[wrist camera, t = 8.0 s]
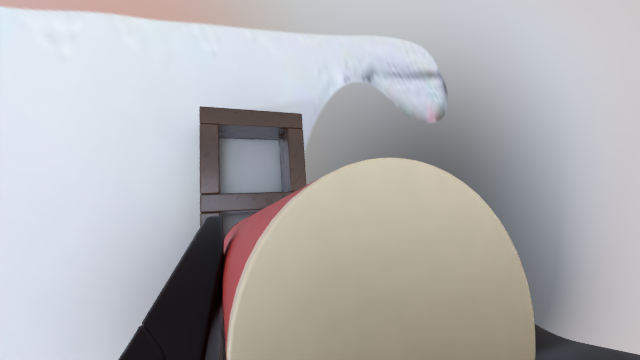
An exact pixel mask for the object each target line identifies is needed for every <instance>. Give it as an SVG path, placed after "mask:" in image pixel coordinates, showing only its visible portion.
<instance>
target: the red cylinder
mask: <svg viewBox="0 0 640 360" xmlns="http://www.w3.org/2000/svg"><path fill="white" fill-rule="evenodd" d="M222 292H223V311H224V330H225V348H226V360H535V324H534V314H533V307H532V301H531V296H530V291H529V287H528V283H527V280H526V276H525V272H524V270H523V267H522V264H521V261H520V259H519V256H518V253H517V251H516V249H515V247H514V245H513V243H512V241H511V239H510V237H509V235H508V233H507V232H506V230H505V229H504V227H503V225H502V223H501V222H500V220H499V219H498V218H497V216H496V215H495V214H494V212H493V211H492V210H491V208H490V207H489V206H488V205H487V204H486V203H485V202H484V201H483V199H481V197H480V196H479V195H478V194H477V193H475V192H474V191H473V190H472V189H471V188H469V187H468V186H467V185H466V184H465V183H464V182H462V181H460V180H459V179H457V178H456V177H454V176H453V175H451V174H449V173H448V172H445V171H443V170H441V169H439V168H437V167H435V166H432V165H429V164H426V163H423V162H420V161H415V160H409V159H403V158H377V159H369V160H363V161H360V162H357V163H353V164H349V165H346V166H344V167H342V168H340V169H337V170H335V171H333V172H331V173H329V174H327V175H325V176H323V177H321V178H320V179H317V180H316V181H314V182H312V183H310V184H308V185H306V186H304V187H303V188H301V189H299V190H297V191H295V192H293V193H292V194H290V195H288V196H286V197H284V198H282V199H280V200H279V201H277V202H275V203H273V204H271V205H269V206H268V207H266V208H264V209H262V210H260V211H258V212H257V213H255V214H253V215H251V216H249V217H247V218H246V219H244V220H242V221H240V222H239V223H237V224H236V225H235V226H233V228H232V229H231V230H230V231H229V232H228V234H227V235H226V237H225V239H224V266H223V275H222Z"/></svg>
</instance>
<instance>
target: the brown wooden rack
mask: <svg viewBox="0 0 640 360" xmlns="http://www.w3.org/2000/svg"><path fill="white" fill-rule="evenodd" d="M302 128H303V127H302V114H297V113H283V112H269V111H255V110H241V109H228V108H214V107H200V194H201V195H200V212H201V214H200V227H201V225H202V224H203V222H204V220H205V219H206V218H207V217H209V216H220V215H221V214H240V213H257V212H258V211H260V210H262V209H264V208H266V207H268V206H269V205H271V204H273V203H275V202H277V201H279V200H280V199H282V198H284V197H286V196H288V195H290V194H292V193H293V192H295V191H297V190H299V189H301V188H303V187H304V186H306V173H305V158H304V143H303V130H302ZM219 138H245V139H272V140H280V159H281V178H282V192H263V193H230V194H220V172H219ZM219 360H223V357H222V329H221V340H220V351H219Z"/></svg>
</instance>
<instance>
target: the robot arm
mask: <svg viewBox="0 0 640 360" xmlns="http://www.w3.org/2000/svg"><path fill="white" fill-rule="evenodd" d="M223 266H224V237H223V219H222V216H209V217H207V218H206V219H205V220H204V222H203V224H202V225H201V227H200V229H199V230H198V232H197V234H196V235H195V237H194V238H193V240H192V242H191V243H190V245H189V247H188V248H187V250H186V251H185V253H184V255H183V256H182V258H181V260H180V261H179V263H178V265H177V266H176V268H175V269H174V271H173V273H172V274H171V276H170V278H169V279H168V281H167V283H166V284H165V286H164V287H163V289H162V291H161V292H160V294H159V296H158V297H157V299H156V300H155V302H154V304H153V305H152V307H151V309H150V310H149V312H148V314H147V315H146V317H145V318H144V320H143V322H142V325H141V326H140V327H139V328H138V330H137V331H136V333H135V334H134V336H133V338H132V339H131V341H130V343H129V344H128V346H127V347H126V349H125V350H124V352H123V353H122V355H121V357H120V358H119V360H219V351H220V340H221V329H222V318H223V292H222V275H223ZM535 360H640V355H637V354H633V353H627V352H623V351H618V350H613V349H609V348H604V347H599V346H594V345H589V344H585V343H580V342H576V341H572V340H569V339H565V338H563V337H560V336H557V335H555V334H553V333H551V332H548V331H547V330H544V329H543V328H541V327H539V326H538V325H536V324H535Z"/></svg>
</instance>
